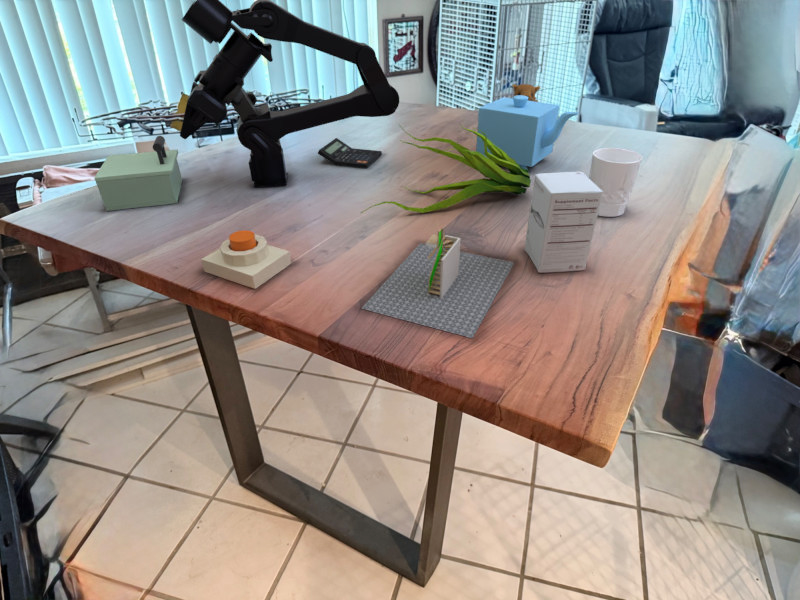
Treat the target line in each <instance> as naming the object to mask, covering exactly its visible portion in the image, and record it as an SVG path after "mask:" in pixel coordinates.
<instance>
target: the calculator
mask: <svg viewBox="0 0 800 600" xmlns="http://www.w3.org/2000/svg"><path fill="white" fill-rule="evenodd" d="M382 153H383V152H382V150H374V149H364V148H363V149H362V148H353V147H351V146H349V145H348V144H347V143H346V142H344V141H342V140H340V139H339V138H338V137H335V138H334V139H332V140H331V141H330V142H328V143H327V144H326V145H324V146H323V147H321V148H319V150H318V151H317V155H318V156H321V157H322V158H323V159H325V160H327V161H329V162H330V163H332V164H333V165H335V166H341V167H351V168H359V169H368V168H370V166H372V164H374V163H375V162H376V161H377V160H378V159H379V158H381V156H382V155H383V154H382Z"/></svg>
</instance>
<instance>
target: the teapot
mask: <svg viewBox="0 0 800 600" xmlns="http://www.w3.org/2000/svg"><path fill="white" fill-rule="evenodd" d="M559 111H560V105H559V104H555V103H549V102H542V101H538V102H535V101H528V97H527V96H523V95H517V96H514V95H513V96H512V97H505V96H503V97H500V98H499V99H496V100H493V101H492V102H488V103H485V104H483V105H482V106H481V107H479V109H478V114H477V115H478V116H477V117H478V120H477V129H478V130H477V132H478V133H480V134H482V135H483V136H485V135H486V137H487V139H489V140H490V141H491V142H492V143H493V144H494V145H495V146H497V147H498V148H500V149H501V150H503V151H504V152H505V153H506V154H507V155H508V156H509V157H510V158H511V159H514V160H515V162H516V163H517V164H518V165H519V166H520V167H521V168H523V169H526V170H528V167H530V168H532V167H534V166H535V165H536V164H538V163H539V162H541V161H542V160H543V159H544V158H546V157H548V156H549V155H550V154H552V153H553V151H554V150H553V149H554V148H553V147H554V143H555V142H556V141H557V140H558V139H559V137H560V135H561V133H562V131H563V128H564V127H565V125H566V124H567V122H568V121H569V120H570V119H571V118H572V117H575V116H577V115H580V113H579V112H576V111H565V112H563V113H561V114H560V116H559ZM558 116H559V117H558ZM479 130H480V131H479ZM481 131H482V132H483V133H485V135H484V134H483V133H482V132H481ZM475 146H476V147H475V148H476V150H475V151H478V152H479V153H481V154H482V155H484V156H485V154H484V142H483V140H482V139H481V138H480V137H479V136H477V135H476V145H475ZM487 151H488V152H489V153H490V154H492V153H491V152H490V150H489V149H488V147H487ZM492 155H493V154H492ZM485 157H487V156H485ZM487 158H488V157H487ZM495 164H496V163H495ZM496 165H497V166H498V164H496Z"/></svg>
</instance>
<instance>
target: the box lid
mask: <svg viewBox="0 0 800 600" xmlns="http://www.w3.org/2000/svg"><path fill="white" fill-rule="evenodd" d="M154 139H155V140H154V142H153V144H152V150H153V151H146V152H145V151H144V152H135V153H134V152H133V153H124V154H111V155H107V157H106V158H105V160H104V162H103V163H102V165H101V166H100V168H99V169H98V171H97V172H96V174H95V176H94V177H93V178H94V182H96V181H106V180H116V179H126V178H136V177H146V176H156V175H166V174H172V173H173V170H174V166H175V163H176V159H177V160H178V156H179V150H178V149H167V150H166V148H165V142H166V138H165V137H164V136H162V135H158V136H156V137H155V138H154Z"/></svg>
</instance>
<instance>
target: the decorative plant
mask: <svg viewBox="0 0 800 600" xmlns="http://www.w3.org/2000/svg"><path fill="white" fill-rule="evenodd" d="M459 125H460V127H461V128H462V129H463V130H465V131H468V132H470V133H473V134H474V135H476V137H477V136H479V137H480V138H481V139H482V140H483V142H484V154H485V156H487V157H488V158H487V157H485V156H484V155H482V154H481V153H479V152H478V151H476V150H474V151H473V150H470V149H469V148H467V147H465V146H464V145H462V144H460V143H458V142H456V141H454V140H452V139H450V138H443V137H437V136H436V137H429V138H424V139H422V138H416V137H415V136H413V135H411V134H410V133H408V132H406V131H405V129H404V128H403V127H402V126H401V125H400V124H398V126H399V127H400V128H401V129H402V131H404V133H406V135H408V136H410V137H411V138H412V139H413V140H415V141H419V142H424V143H425V142H435V141H436V142H440V143H446V144H450V146H452V147H453V148H448V150H452V151H457V152H458V153H459V154H457V153H453V152H450V151H446V150H444V149H443V150H442V149H439V148H435V147H431V146H428V145H417V144H415V143H413V142H407V141H403V140H401V139H399V141H400V142H402V143H404V144H408V145H412V146H414V147H415V148H418V149H423V150H427V151H430V152H434V153H436V154H439V155H442V156H445V157H448V158H450V159H452V160H456V161H458V162H459V163H461V164H464V165H465V166H468V167H470V169H473V170H475V171H477V172H478V173H479V174H481V175H482V176H483V178H476V179H470V180H464V181H458V182H453V183H448V184H444V185H443V184H442V185H439V186H438V185H437V186H434V187H433V188H430V189H429V190H426V191H418V190H413V189H410V188H407V187H405V186H404V189H407V190H409V191H411V192H415V193H419V194H430V193H433V192H437V191H438V192H439V191H441V192H442V191H444V192H445V191H455V190H456V191H457V190H460V191H458V192H456V193H455V194H453V195H451V196H449V197H448V198H445V199H443V200H440V201H438V202H436V203H432V204H430V205H428V206H425V207H413V206H406V205H404V204H401V203H399V202H397V201H386V200H385V201H382V202H379V203H377V204H374V205H371V206H369V207H368V208H366V209H364V210H363V211H361V212H360V214H363V213H364V212H366V211H368V210H369V209H371V208H374V207H377V206H380V205H384V204H391V205H395V206H397V207H399V208H401V209H403V210H404V211H407V212H415V213H422V214H424V213H429V212H434V211H439V210H443V209H447V208H449V207H451V206H454V205H456V204H458V203H460V202H463V201H465V200H468V199H470V198H472V197H475V196H478V195H480V194H483V193H504V192H505V193H510V194H514V195H518V196H520V195H521V196H522V194H526V192H527V190H528V188H530V187H531V181H532V179H531V176H530V174H529V173H530V169H527V170H526V169H523V168H521V167H520V166H519V165H518V164H517V163H516V162H515V160H514V159H511V158H510V157H509V156H508V155H507V154H506V153H505V152H504V151H503V150H501V149H500V148H498V147H497V146H495V145H494V144H493V143H492V142H491V141H490V140H489V139H487V137H486V135H485V133H483V132H482V131H481V132H482V133H483V134H484V135H485V136H483V135H482V134H480V133H478V128H475V127H473V129H468V128H465V127H464V126H463V125H462V124H461V123H459ZM475 130H476V131H475ZM479 131H480V130H479ZM487 147H488V149H489V150H490V152H491V153H492V154H493V155H492V154H490V153H489V152H488V151H487ZM495 163H496V164H497V165H496V164H495ZM500 166H501V167H500ZM502 167H504V168H506V169H507V170H508V171H506V170H504V169H502Z"/></svg>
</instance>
